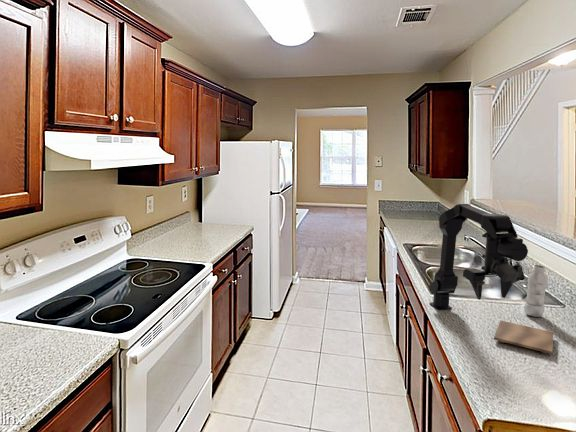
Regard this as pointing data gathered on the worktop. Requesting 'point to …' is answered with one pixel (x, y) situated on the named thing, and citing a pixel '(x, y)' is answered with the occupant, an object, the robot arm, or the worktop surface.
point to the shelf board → (525, 336)
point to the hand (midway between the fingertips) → (491, 298)
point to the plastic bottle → (536, 292)
